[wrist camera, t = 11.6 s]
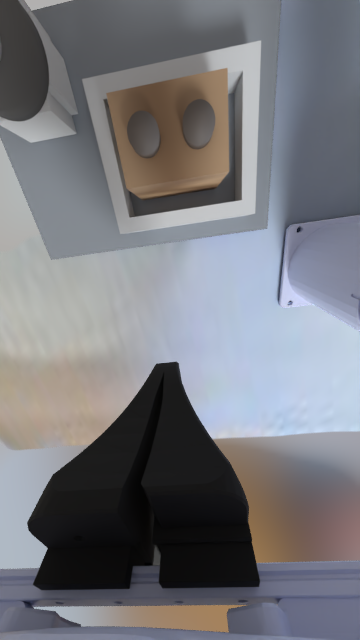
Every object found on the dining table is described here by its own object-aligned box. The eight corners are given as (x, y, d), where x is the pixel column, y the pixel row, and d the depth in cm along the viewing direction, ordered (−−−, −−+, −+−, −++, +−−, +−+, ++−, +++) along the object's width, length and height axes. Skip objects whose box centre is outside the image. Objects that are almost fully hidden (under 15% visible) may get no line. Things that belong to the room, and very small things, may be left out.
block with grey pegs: (212, 121, 13) (231, 53, 8) (215, 188, 15) (232, 167, 10) (131, 137, 14) (99, 81, 9) (143, 200, 16) (122, 185, 10)
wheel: (59, 29, 12) (-20, -96, 7) (86, 135, 14) (40, 90, 9) (-15, 47, 12) (-134, -62, 8) (23, 147, 14) (-51, 110, 10)
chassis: (276, -30, 11) (312, -132, 8) (262, 228, 17) (280, 228, 14) (-29, 43, 13) (-99, -18, 10) (57, 258, 19) (31, 264, 16)
